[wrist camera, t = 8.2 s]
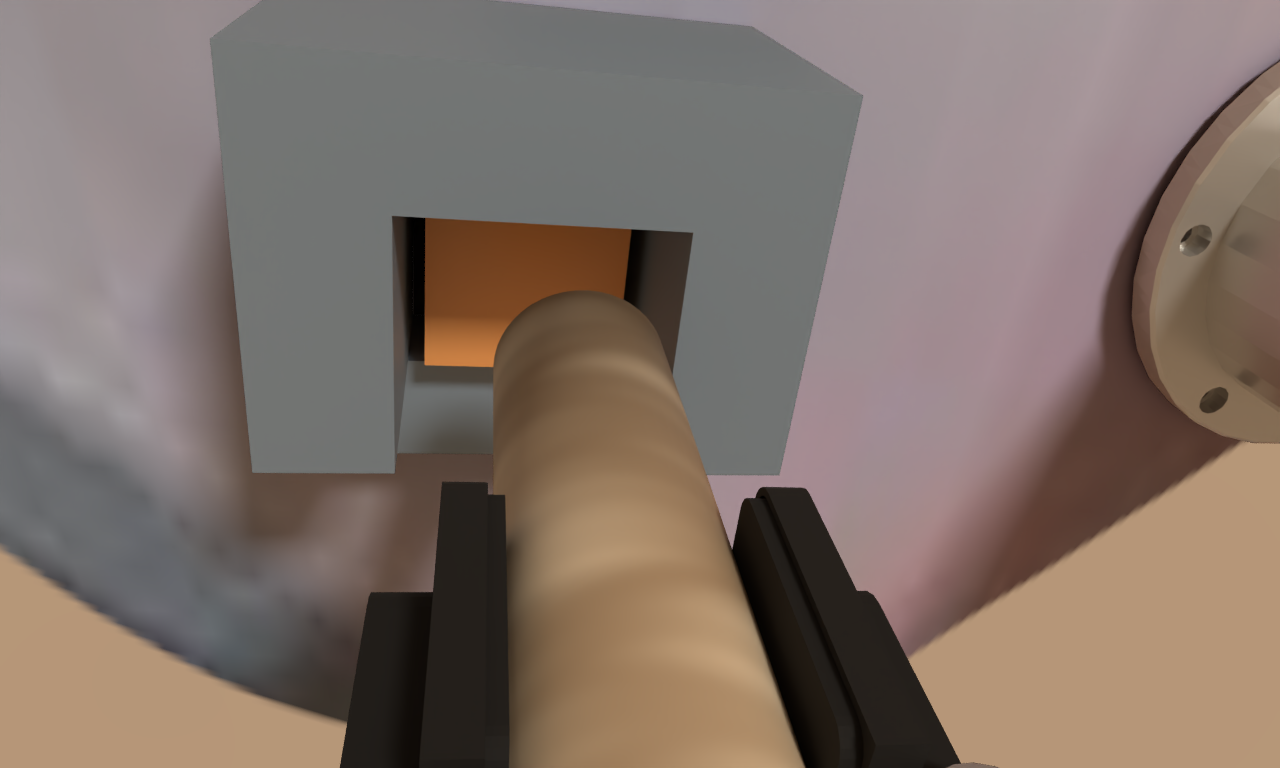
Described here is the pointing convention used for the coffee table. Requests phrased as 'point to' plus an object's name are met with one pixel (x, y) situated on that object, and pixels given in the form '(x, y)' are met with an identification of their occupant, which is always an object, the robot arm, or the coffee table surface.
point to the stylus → (619, 559)
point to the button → (507, 278)
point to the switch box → (515, 207)
